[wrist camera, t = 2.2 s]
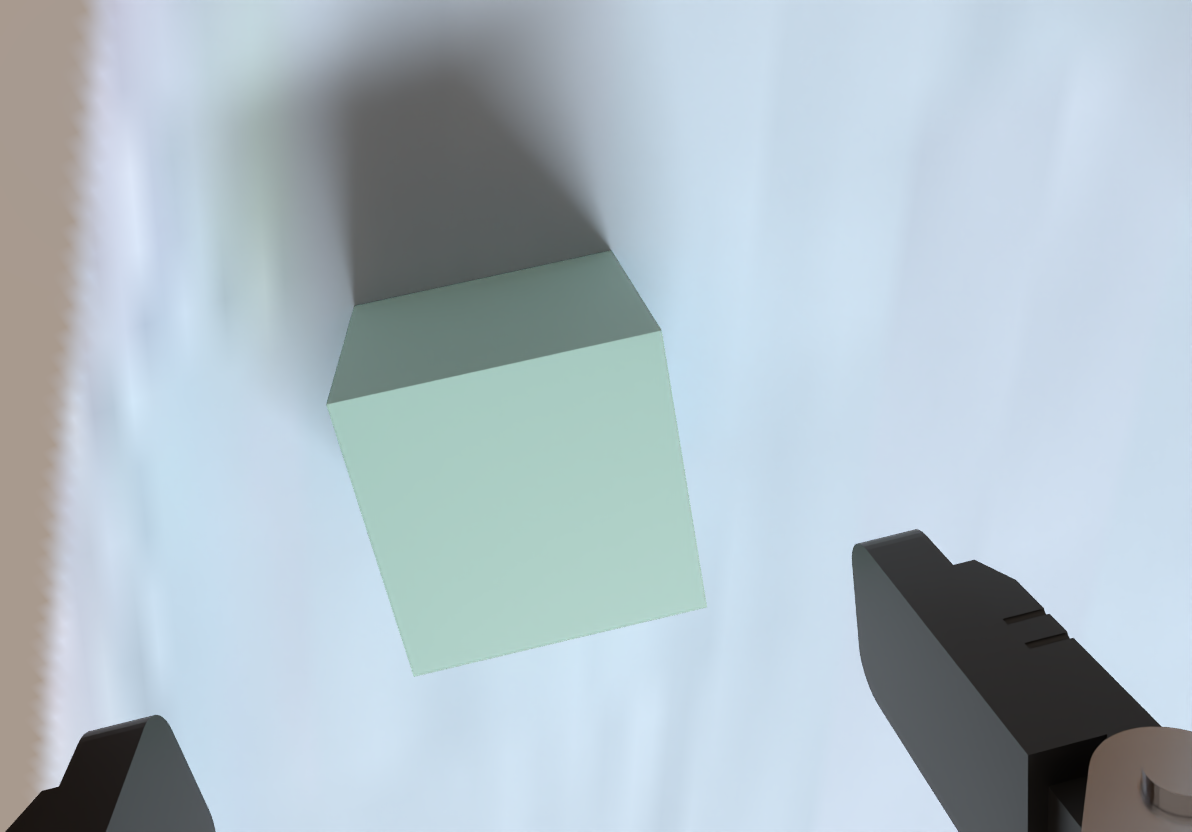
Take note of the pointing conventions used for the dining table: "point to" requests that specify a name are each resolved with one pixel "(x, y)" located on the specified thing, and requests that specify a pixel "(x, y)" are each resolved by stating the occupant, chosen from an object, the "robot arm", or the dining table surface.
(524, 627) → the teal cube
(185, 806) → the robot arm
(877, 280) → the dining table surface
